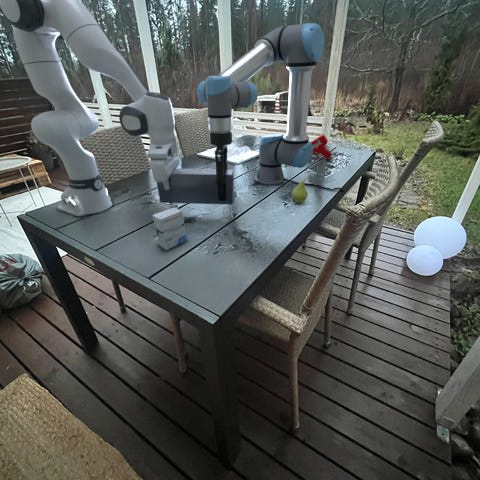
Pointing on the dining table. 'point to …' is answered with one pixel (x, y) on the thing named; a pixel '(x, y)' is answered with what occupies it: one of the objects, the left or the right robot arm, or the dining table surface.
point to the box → (196, 187)
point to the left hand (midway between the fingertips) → (170, 185)
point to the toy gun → (321, 146)
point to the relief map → (233, 154)
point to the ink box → (170, 228)
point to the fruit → (300, 192)
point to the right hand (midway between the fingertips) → (223, 196)
